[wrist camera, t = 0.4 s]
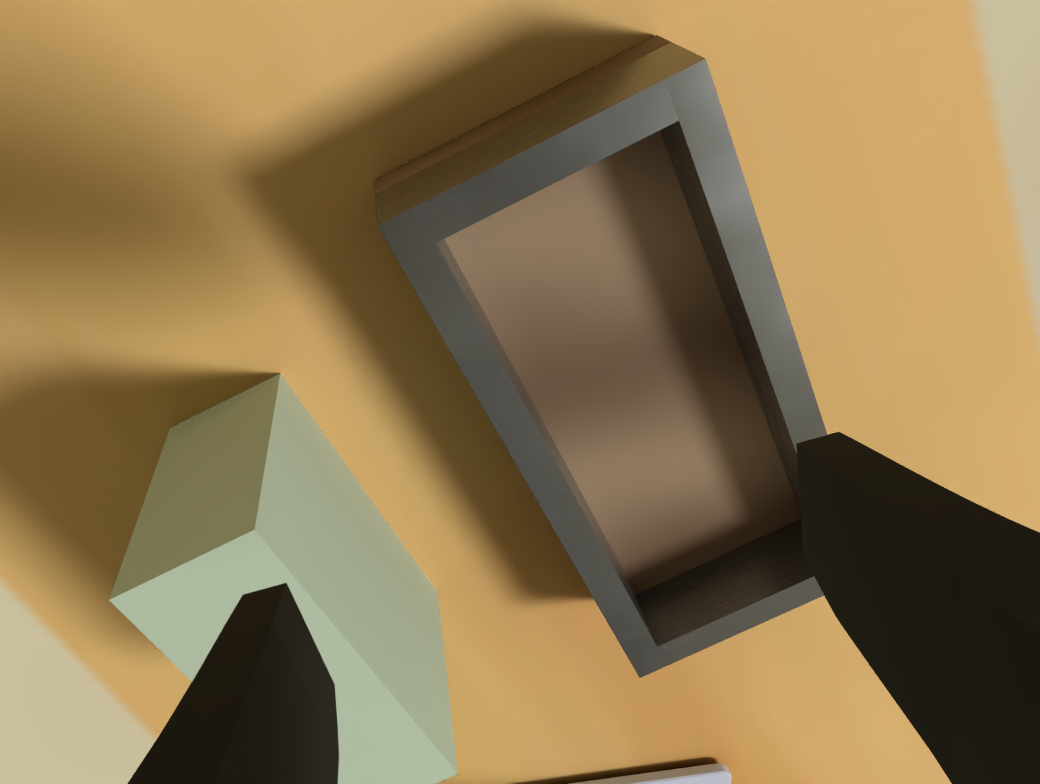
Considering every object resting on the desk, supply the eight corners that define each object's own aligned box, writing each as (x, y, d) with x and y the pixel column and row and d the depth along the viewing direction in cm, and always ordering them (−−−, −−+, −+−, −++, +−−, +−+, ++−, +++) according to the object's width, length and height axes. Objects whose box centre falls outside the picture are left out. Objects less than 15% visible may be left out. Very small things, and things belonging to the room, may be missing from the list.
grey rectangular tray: (819, 504, 25) (872, 573, 23) (611, 599, 26) (640, 677, 23) (656, 35, 18) (705, 58, 16) (374, 179, 19) (377, 226, 16)
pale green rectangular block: (437, 590, 25) (457, 773, 20) (343, 634, 25) (339, 826, 20) (280, 371, 21) (254, 529, 16) (170, 426, 21) (109, 600, 16)
